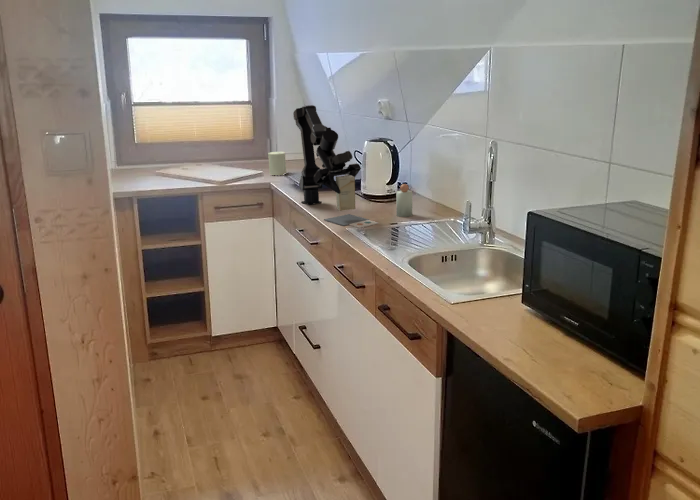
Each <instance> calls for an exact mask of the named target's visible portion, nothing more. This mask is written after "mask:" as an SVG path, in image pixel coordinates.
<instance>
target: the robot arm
mask: <svg viewBox="0 0 700 500" xmlns="http://www.w3.org/2000/svg"><path fill="white" fill-rule="evenodd" d="M292 116H293V120H294V121H295V125H296V127H297V128H298V130H299V131H300V137H301V138H300V140H301V146H302V147H301V148H302V153H303V154H302V156H303V162H304V165H303V168H302V170H301V176H300V179H299V182H298V183H299V189H300V190H301V191H303V201H302V200H301V202H300V203H301V204H305V205H309V206H311V205H316V204H322V203H323V201H321V200H320V195H319V194H320V193H319V189H321V190H322V189H323V186H325V187H326V188H328V189H330V190H332V191H333V192H335V193H336V192H337V193H338V194H340V193H341V192H340V189H339V187H338V185H337V183H336V179H335V177H337V176H348V175H352V176H354V177H355V178H356V177H357V175H358V174H359V172H360V171H361V169H362V167H361V165H360V164H359V163H350V164H349V165H348V166H347V168H345V167H346V164H347V163H348V162H351V160H352V159H353V154H352V153H351V151H350V150H348V151H347V150H346V151H344V152H341V153H337V154H336V153H335V151H334V150H335V149H336V146H337V143H338V140H339V133H337V131H336V130H333V129H332V128H331V127H328V126H326V125H324V124H323V123H322V121H321V118H320V116H319V114H318V112H317V106H316V105H313V104H312V105H310V104H309V105H303V106H302V107H300V108H296V109H295V110H293V115H292ZM314 146H317V148H316V157H318V158H320V160H321V163H322V165H321V167H322V168H320V167H319V166H318V165H317V164H316V159H315V158H316V157H315V150H314V149H315V148H314ZM356 191H357V185H356V182H355V192H356Z"/></svg>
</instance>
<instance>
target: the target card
mask: <svg viewBox="0 0 700 500" xmlns="http://www.w3.org/2000/svg"><path fill="white" fill-rule="evenodd" d="M379 224H380V223H379V222H377V221H374V220H370V219H369V220H365V221H361V222H356V223H352V224H349V225H348V226H352V227H355V228H358V229H360V228H366V227H369V226H375V225H379Z"/></svg>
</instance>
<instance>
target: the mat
mask: <svg viewBox="0 0 700 500" xmlns="http://www.w3.org/2000/svg"><path fill="white" fill-rule="evenodd" d="M365 220H370V219H369V218H366V217H362V216H358V215H354V214H351V213H346V214H344V215H338V216H331V217H328V218H324V219H323V221H325V222H328V223H332V224H335V225H339V226H342V227H346V226H350V225H349V224H352V223H356V222H361V221H365Z"/></svg>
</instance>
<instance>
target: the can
mask: <svg viewBox="0 0 700 500" xmlns="http://www.w3.org/2000/svg"><path fill="white" fill-rule="evenodd" d="M267 157H268V171H269V172H268V173H269V174H271V175H283V174H284V173H287V166H286V165H287V162H286V161H287V160H286V152H285V151H271V152H267ZM269 174H268V175H269ZM283 176H284V175H283Z"/></svg>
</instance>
